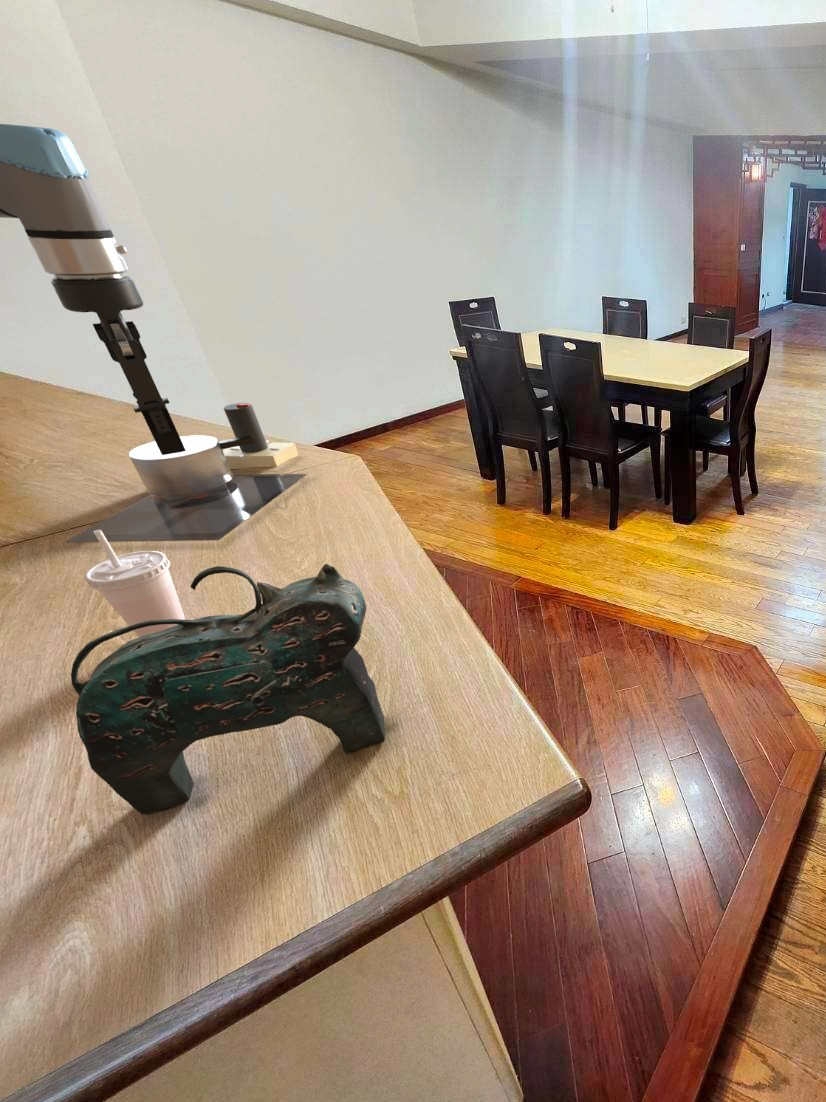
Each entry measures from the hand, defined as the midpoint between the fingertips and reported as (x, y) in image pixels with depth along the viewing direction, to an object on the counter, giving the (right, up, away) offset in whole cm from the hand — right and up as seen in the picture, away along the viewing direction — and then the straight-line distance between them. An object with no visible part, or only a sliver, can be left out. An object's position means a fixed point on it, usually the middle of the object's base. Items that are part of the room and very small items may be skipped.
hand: (173, 451), depth 86 cm
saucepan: (-6, -3, +13) cm, 15 cm away
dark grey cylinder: (-6, +4, +22) cm, 23 cm away
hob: (-3, -8, +7) cm, 11 cm away
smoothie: (+19, -25, -20) cm, 37 cm away
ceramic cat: (+42, -34, -34) cm, 64 cm away
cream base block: (-6, +2, +23) cm, 24 cm away
